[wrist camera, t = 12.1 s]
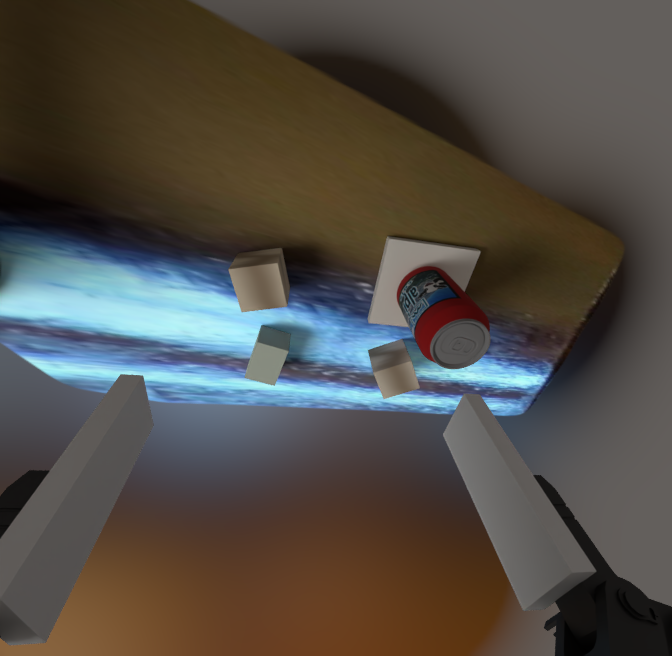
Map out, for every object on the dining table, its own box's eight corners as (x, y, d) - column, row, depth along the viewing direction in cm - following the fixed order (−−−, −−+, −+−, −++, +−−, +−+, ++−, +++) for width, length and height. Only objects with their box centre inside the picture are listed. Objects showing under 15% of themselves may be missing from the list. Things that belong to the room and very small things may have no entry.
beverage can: (410, 255, 36) (448, 304, 26) (460, 273, 38) (514, 326, 27) (385, 304, 39) (410, 365, 29) (432, 319, 41) (471, 381, 31)
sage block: (249, 358, 44) (244, 377, 40) (261, 324, 41) (256, 341, 38) (277, 366, 45) (274, 385, 42) (290, 333, 42) (288, 351, 39)
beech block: (249, 292, 38) (241, 312, 34) (238, 252, 36) (228, 269, 32) (290, 287, 38) (287, 306, 34) (281, 247, 36) (277, 263, 32)
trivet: (367, 318, 41) (368, 322, 40) (387, 236, 36) (389, 238, 35) (446, 327, 43) (448, 331, 42) (477, 248, 37) (480, 251, 36)
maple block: (377, 374, 47) (383, 399, 43) (367, 349, 44) (373, 372, 40) (410, 364, 46) (419, 388, 42) (402, 338, 44) (411, 360, 39)
